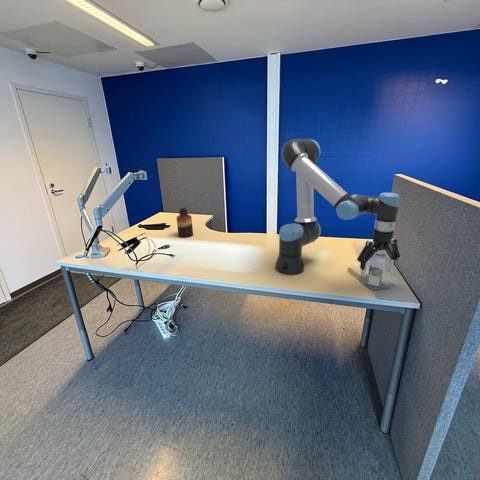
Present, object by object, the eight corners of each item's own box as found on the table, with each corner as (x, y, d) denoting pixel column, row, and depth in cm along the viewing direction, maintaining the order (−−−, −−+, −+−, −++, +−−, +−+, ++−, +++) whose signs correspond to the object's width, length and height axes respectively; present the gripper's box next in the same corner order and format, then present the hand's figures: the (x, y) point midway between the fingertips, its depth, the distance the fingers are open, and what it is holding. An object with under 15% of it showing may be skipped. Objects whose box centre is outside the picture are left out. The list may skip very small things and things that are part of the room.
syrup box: (380, 281, 120) (386, 253, 115) (380, 287, 115) (385, 258, 110) (367, 279, 122) (372, 251, 117) (366, 284, 118) (371, 256, 113)
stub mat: (372, 290, 114) (372, 289, 114) (359, 281, 122) (359, 280, 122) (389, 288, 116) (389, 286, 115) (375, 278, 124) (375, 277, 124)
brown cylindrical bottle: (181, 238, 184) (178, 211, 177) (176, 234, 193) (173, 208, 186) (195, 236, 189) (192, 209, 182) (190, 232, 198) (187, 206, 191)
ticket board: (358, 280, 123) (359, 275, 122) (347, 271, 131) (348, 267, 130) (376, 277, 125) (377, 272, 124) (364, 269, 133) (365, 264, 132)
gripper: (364, 235, 103) (357, 281, 111) (415, 229, 108) (405, 273, 116) (352, 229, 110) (346, 273, 118) (401, 224, 115) (392, 266, 123)
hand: (375, 273), depth 117 cm, fingers open, 13 cm apart
